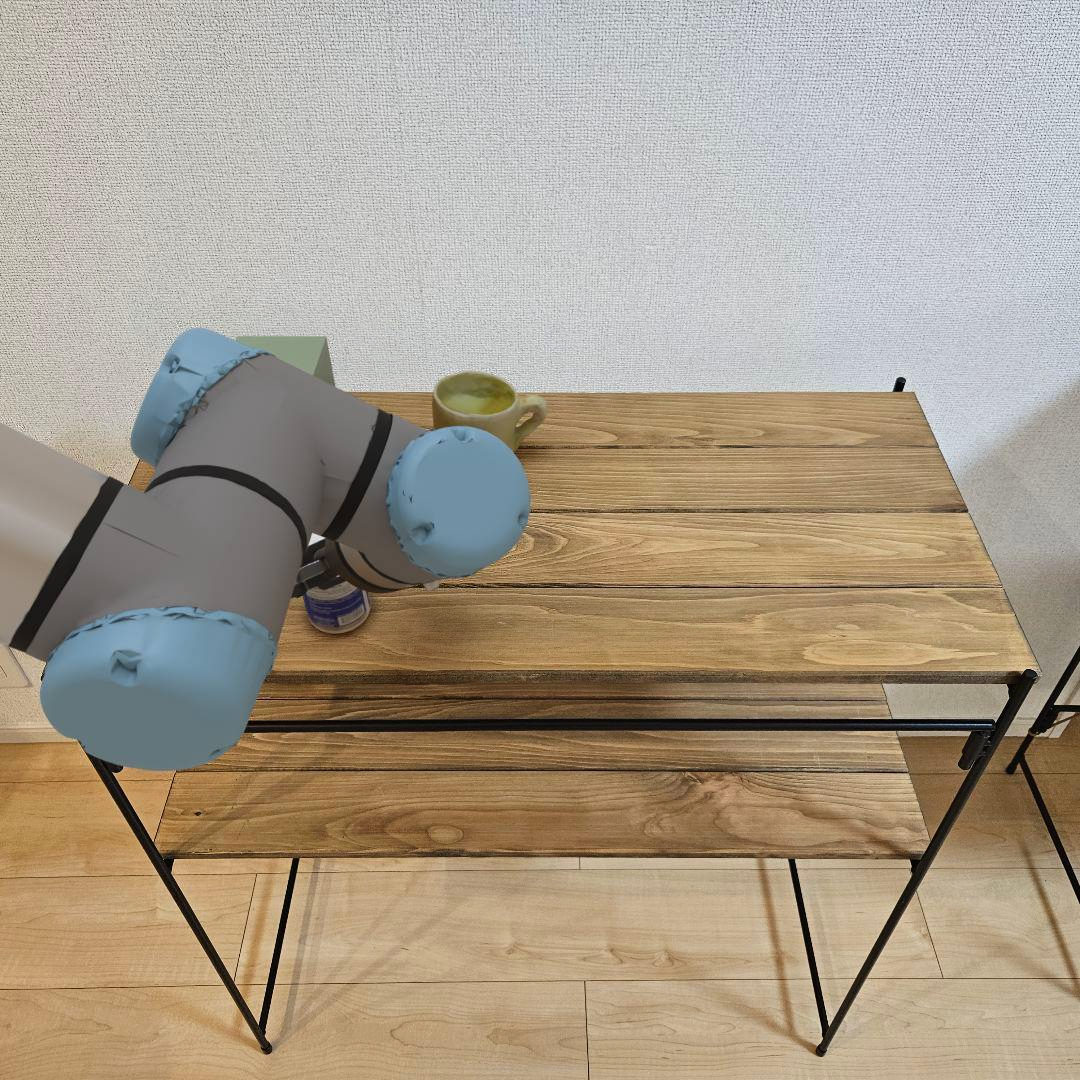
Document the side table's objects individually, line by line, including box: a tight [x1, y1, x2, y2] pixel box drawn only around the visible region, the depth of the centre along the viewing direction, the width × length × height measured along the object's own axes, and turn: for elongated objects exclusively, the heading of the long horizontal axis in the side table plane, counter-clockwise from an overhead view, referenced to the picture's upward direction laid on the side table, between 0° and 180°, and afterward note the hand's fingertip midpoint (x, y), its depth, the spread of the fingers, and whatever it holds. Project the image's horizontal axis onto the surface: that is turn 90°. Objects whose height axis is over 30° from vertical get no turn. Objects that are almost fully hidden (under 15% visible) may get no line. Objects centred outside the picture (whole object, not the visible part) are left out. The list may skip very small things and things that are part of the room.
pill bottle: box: [302, 533, 371, 634], centre depth 78 cm, size 6×6×10 cm
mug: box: [431, 370, 549, 454], centre depth 96 cm, size 12×10×10 cm
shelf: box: [235, 335, 336, 387], centre depth 100 cm, size 10×8×9 cm
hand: (330, 563), depth 77 cm, fingers open, 13 cm apart
